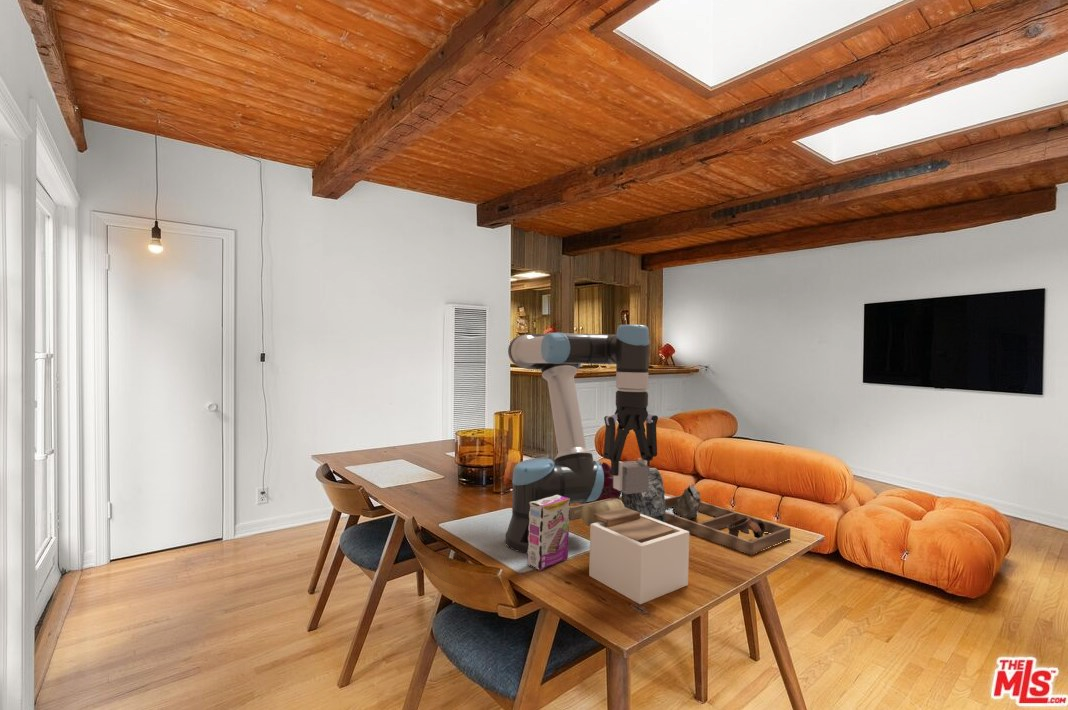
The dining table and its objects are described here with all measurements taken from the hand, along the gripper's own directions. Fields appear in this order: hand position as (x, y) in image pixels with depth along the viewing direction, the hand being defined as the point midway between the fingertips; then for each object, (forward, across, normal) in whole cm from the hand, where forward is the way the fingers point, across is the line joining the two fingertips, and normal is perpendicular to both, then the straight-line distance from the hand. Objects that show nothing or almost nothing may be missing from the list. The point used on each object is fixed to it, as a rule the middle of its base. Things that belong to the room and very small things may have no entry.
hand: (630, 487), depth 119 cm
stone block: (+23, -23, -27) cm, 42 cm away
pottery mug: (+23, -49, -11) cm, 56 cm away
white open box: (+23, -4, -2) cm, 24 cm away
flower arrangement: (+22, -24, -64) cm, 72 cm away
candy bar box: (+23, +13, -18) cm, 32 cm away
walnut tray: (+23, -47, -25) cm, 58 cm away
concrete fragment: (+23, -46, -36) cm, 63 cm away
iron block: (0, 0, 0) cm, 0 cm away
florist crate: (+22, -24, -64) cm, 72 cm away
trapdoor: (+12, -3, -6) cm, 14 cm away
